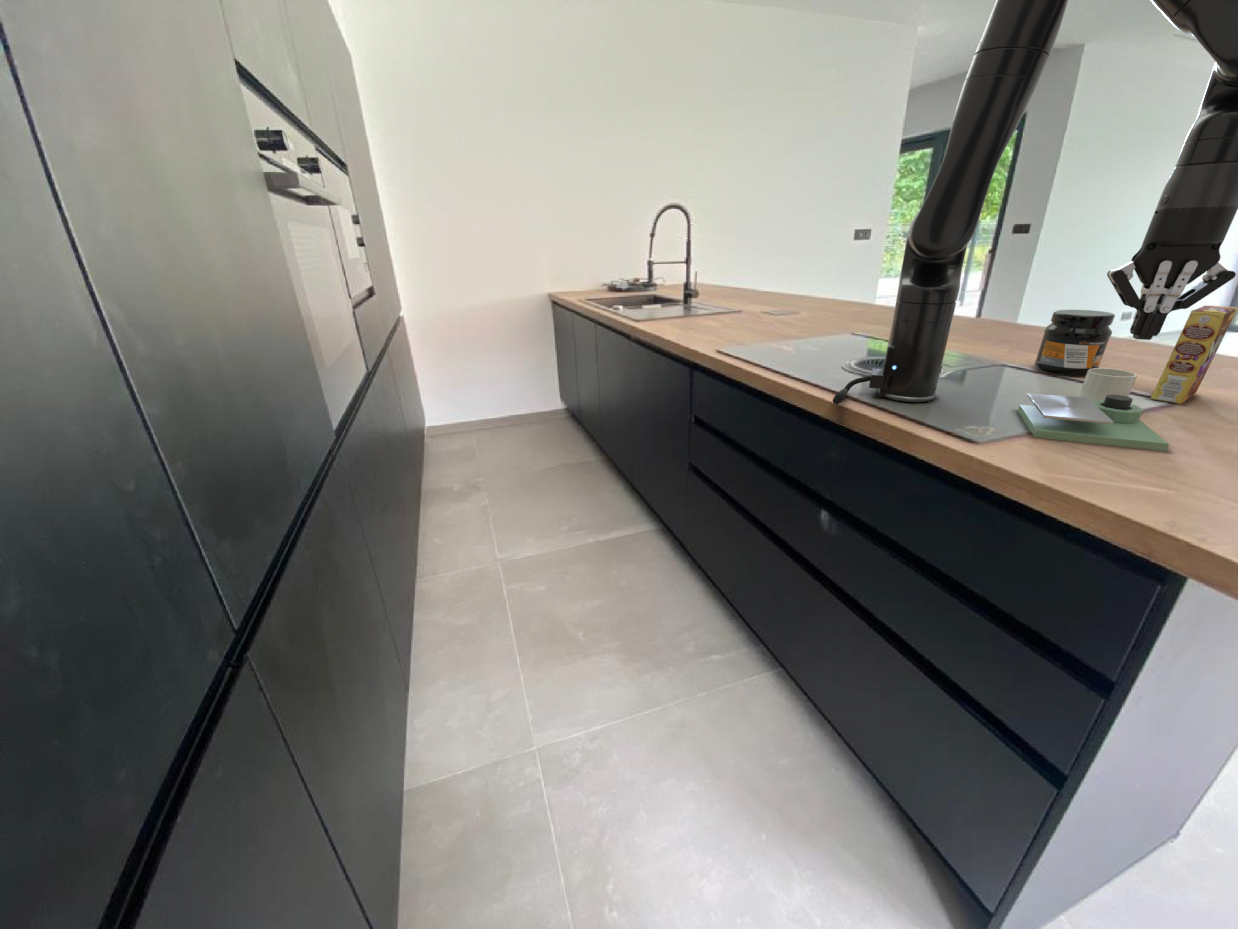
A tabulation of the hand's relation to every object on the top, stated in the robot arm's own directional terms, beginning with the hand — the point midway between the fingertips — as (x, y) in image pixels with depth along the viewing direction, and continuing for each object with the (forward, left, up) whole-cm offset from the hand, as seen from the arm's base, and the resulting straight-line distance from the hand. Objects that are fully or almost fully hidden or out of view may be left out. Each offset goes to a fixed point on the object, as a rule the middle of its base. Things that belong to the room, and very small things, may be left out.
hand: (1141, 338), depth 73 cm
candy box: (+14, +20, -14) cm, 28 cm away
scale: (-4, -4, -13) cm, 14 cm away
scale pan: (-7, -4, -10) cm, 13 cm away
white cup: (+2, +12, -13) cm, 18 cm away
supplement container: (+2, +36, -14) cm, 39 cm away
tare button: (0, 0, -11) cm, 11 cm away
